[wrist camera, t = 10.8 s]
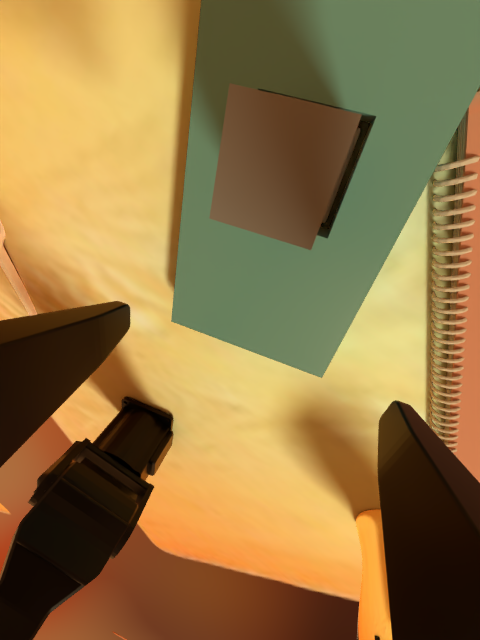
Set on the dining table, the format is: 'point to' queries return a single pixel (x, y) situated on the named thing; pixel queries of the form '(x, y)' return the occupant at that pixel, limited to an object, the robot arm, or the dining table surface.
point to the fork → (14, 276)
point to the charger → (279, 164)
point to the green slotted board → (365, 179)
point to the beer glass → (373, 579)
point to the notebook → (461, 300)
